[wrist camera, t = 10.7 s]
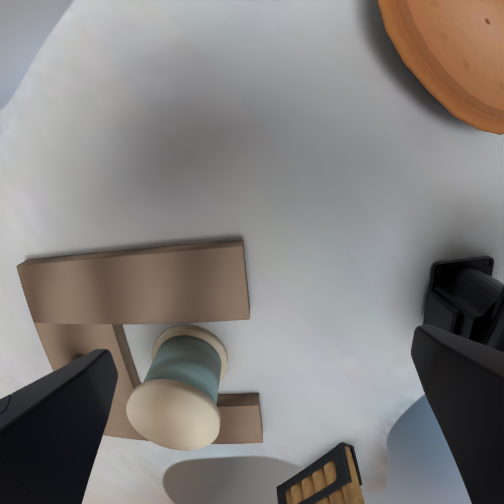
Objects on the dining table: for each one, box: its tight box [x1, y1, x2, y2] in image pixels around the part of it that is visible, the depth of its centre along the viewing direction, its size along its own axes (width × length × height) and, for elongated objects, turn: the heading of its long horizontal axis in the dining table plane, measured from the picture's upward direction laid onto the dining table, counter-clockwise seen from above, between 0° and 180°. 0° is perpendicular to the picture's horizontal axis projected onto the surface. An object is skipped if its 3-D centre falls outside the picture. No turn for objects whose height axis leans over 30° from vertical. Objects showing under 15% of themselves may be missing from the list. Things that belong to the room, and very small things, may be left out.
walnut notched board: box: [17, 240, 263, 444], centre depth 21 cm, size 18×18×6 cm
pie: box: [377, 0, 504, 135], centre depth 14 cm, size 16×16×5 cm
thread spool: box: [126, 325, 228, 450], centre depth 20 cm, size 6×6×7 cm
